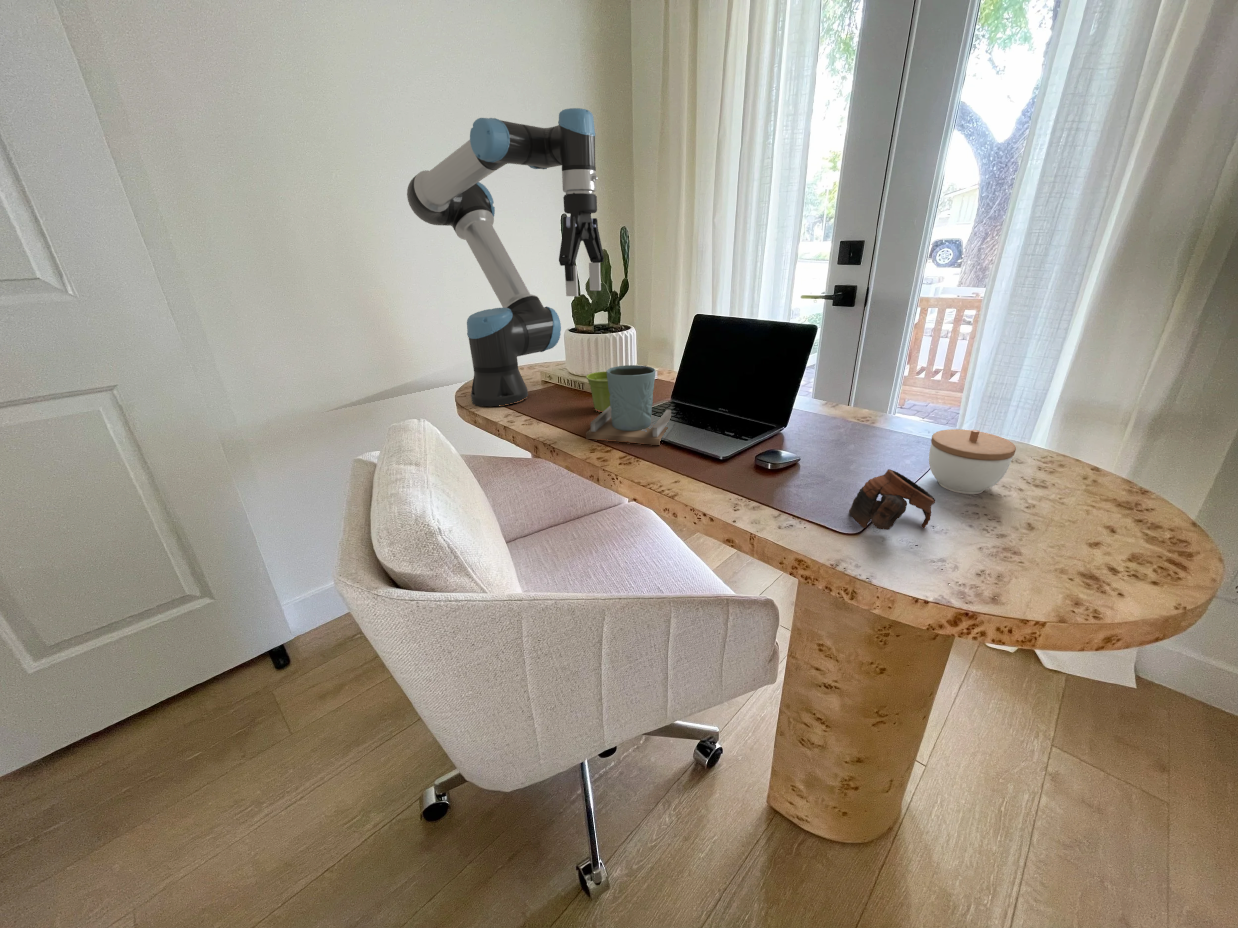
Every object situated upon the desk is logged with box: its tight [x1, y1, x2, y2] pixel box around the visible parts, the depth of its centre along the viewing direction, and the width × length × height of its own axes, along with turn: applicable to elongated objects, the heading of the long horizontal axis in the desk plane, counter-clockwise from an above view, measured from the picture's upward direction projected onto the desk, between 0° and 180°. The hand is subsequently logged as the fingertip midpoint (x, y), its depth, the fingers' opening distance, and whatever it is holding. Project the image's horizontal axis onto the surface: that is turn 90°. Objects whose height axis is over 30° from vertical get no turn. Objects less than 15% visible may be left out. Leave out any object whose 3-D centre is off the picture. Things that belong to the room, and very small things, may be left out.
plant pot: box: [585, 370, 610, 411], centre depth 120 cm, size 9×9×9 cm
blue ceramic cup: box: [606, 364, 656, 431], centre depth 104 cm, size 10×10×12 cm
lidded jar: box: [928, 428, 1017, 495], centre depth 77 cm, size 11×11×9 cm
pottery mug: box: [848, 469, 937, 531], centre depth 68 cm, size 12×10×8 cm
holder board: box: [585, 406, 672, 446], centre depth 106 cm, size 16×14×4 cm
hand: (584, 293), depth 119 cm, fingers open, 13 cm apart
